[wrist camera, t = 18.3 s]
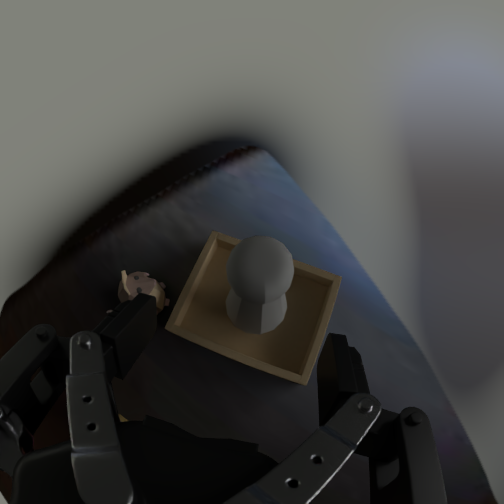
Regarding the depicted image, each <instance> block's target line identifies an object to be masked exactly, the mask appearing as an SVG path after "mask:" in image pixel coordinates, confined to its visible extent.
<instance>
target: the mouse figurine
mask: <svg viewBox="0 0 504 504" xmlns="http://www.w3.org/2000/svg"><path fill="white" fill-rule="evenodd" d="M121 274H122V280H121V281H120V283H119V288H118V297H119V299H120V301H121V303H122V302H124V301H127V300H131V301H132V300H133V299H134V298H135V297H136V296H137V295H138V294H139V293H145V294H148V295H152V296H155V297H156V305H157V315H158V313H160V312H161V311H162V310H163V308H164V306H169V301H170V299H167V298H166V296H165V291H164V289H165V288H166V286H165V285H164V283H163V282H161V283H159V282H157V281H156V280H155V279H151V278H148V277H147V276H148V275H149V274H148V273H145V272H135V273H132V274H129V275H128V276H127V275H126V272H125V270H123V271H121ZM109 312H112V310H108V311H107V312H106V313H109Z"/></svg>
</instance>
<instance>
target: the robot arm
mask: <svg viewBox="0 0 504 504" xmlns="http://www.w3.org/2000/svg"><path fill="white" fill-rule="evenodd" d="M156 328H157V305H156V297H155V296H152V295H148V294H145V293H139V294H138V295H137V296H136V297H135V298H134V299H133V300H132V301H131V300H127V301H124V302H122V303H120V304H119V305H118V306H117V307H116V308H115V309H114V310H113V311H112V312H111V313H110V314H109V315H108V316H106V317H105V318H104V319H103V320H102V321H101V322H100V323H99V324H98V325H97V326H96V327H95V328H94V329H93V330H92V331H81V332H78V333H76V334H74V335H73V336H72V338H67V337H61V336H57V334H56V330H55V328H54V327H53V326H51V325H49V324H40V325H37V326H35V327H33V328H32V329H31V330H30V331H29V332H28V333H26V334H25V335H24V336H23V337H22V338H21V339H20V340H19V341H18V342H17V343H16V344H15V345H14V346H13V347H12V348H11V349H10V350H9V351H8V352H7V353H6V354H5V355H4V356H3V357H2V358H1V359H0V470H2V471H5V472H6V473H7V474H9V475H10V476H11V477H12V495H11V500H10V504H312V503H311V502H310V501H311V500H312V499H313V498H314V497H315V496H316V495H317V494H318V493H319V492H320V491H321V490H322V489H323V488H324V487H325V486H326V484H327V483H328V482H329V481H330V480H331V479H332V478H333V477H334V475H335V474H336V473H337V472H338V471H339V470H340V468H341V467H342V466H343V465H344V464H345V462H346V461H347V460H348V459H349V458H350V456H351V455H352V454H353V453H356V454H359V455H363V456H367V457H369V471H370V504H447V499H446V493H445V487H444V481H443V476H442V471H441V466H440V462H439V457H438V453H437V449H436V445H435V441H434V437H433V433H432V429H431V426H430V422H429V419H428V417H427V415H426V414H425V413H424V412H423V411H422V410H420V409H418V408H415V407H408V408H405V409H403V410H402V412H401V413H400V414H398V413H394V412H391V411H387V410H384V409H382V408H381V404H380V402H379V401H378V400H377V399H376V398H375V397H374V396H372V395H370V391H369V387H368V383H367V379H366V375H365V371H364V367H363V365H362V359H361V355H360V354H359V353H358V351H357V350H356V349H355V348H354V347H349V346H348V342H347V338H346V335H341V334H334V333H329V334H328V336H327V338H326V341H325V344H324V346H323V349H322V352H321V354H320V357H319V360H318V364H317V383H318V402H319V426H320V427H319V428H318V429H317V430H316V431H315V432H314V433H313V434H312V435H310V436H309V437H308V438H307V439H306V440H305V441H304V442H303V443H302V444H301V445H300V446H299V447H298V448H297V449H295V450H294V451H293V452H292V453H291V454H290V455H289V456H288V457H286V458H285V459H284V460H283V461H282V462H281V463H277V462H276V461H275V460H273V459H272V458H270V457H269V456H267V455H265V454H263V453H260V452H258V446H259V444H255V443H249V442H244V441H238V440H233V439H215V438H199V437H196V436H194V435H192V434H190V433H188V432H186V431H185V430H183V429H181V428H179V427H177V426H176V425H174V424H172V423H169V422H166V421H163V420H160V419H157V418H154V417H151V416H148V415H146V416H145V418H144V420H143V421H124V422H121V421H120V418H119V415H118V411H117V406H116V402H115V397H114V393H113V388H112V383H111V380H112V379H113V377H114V376H115V377H117V378H120V379H122V380H123V379H124V377H125V376H126V374H127V373H128V371H129V370H130V369H131V367H132V366H133V364H134V363H135V361H136V360H137V358H138V357H139V356H140V354H141V353H142V351H143V350H144V349H145V347H146V346H147V344H148V343H149V341H150V340H151V339H152V337H153V336H154V334H155V332H156ZM39 367H41V369H42V370H41V371H40V372H39V373H38V375H37V376H36V377H35V378H34V379H33V381H32V382H31V383H30V379H31V376H32V375H33V374H34V372H35V371H36V370H37V369H38V368H39ZM65 388H66V393H67V408H68V419H69V428H70V436H71V440H68V441H65V442H62V443H59V444H55V445H52V446H49V447H45V448H42V449H38V450H35V451H34V449H33V444H34V439H33V434H34V433H35V431H36V430H37V428H38V427H39V425H40V424H41V422H42V421H43V419H44V418H45V416H46V415H47V413H48V412H49V410H50V409H51V408H52V406H53V405H54V403H55V402H56V400H57V399H58V398H59V396H60V395H61V393H62V392H63V391H64V389H65Z"/></svg>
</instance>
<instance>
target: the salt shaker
mask: <svg viewBox="0 0 504 504" xmlns="http://www.w3.org/2000/svg"><path fill="white" fill-rule="evenodd" d="M226 271H227V280H228V282H229V284H230V286H231V289H230V291H229V294H228V296H227V299H226V309H227V315H228V317H229V318H230V320H231V321H232V323H233V325H234V326H235V327H237V328H239V329H240V330H242V331H244V332H245V333H250V334H259V335H261V334H264V333H266V332H269V331H272V330H274V329H275V328H276V327H277V326H278V325H279V324H280V323H281V322H282V321H283V319H284V316H285V313H286V309H287V302H286V296H285V292H286V291H287V290H288V289H289V287H290V286H291V282H292V279H293V275H294V266H293V260H292V255H291V253H290V252H289V251H288V250H287V248H286V247H285V246H284V244H283V243H281V242H279V241H277V240H275V239H274V238H272V237H267V236H253V237H250V238H247V239H243V240H242V241H241V242H240V243H238V244H237V245H236V246H235V247H234V248H233V249H232V251H231V253H230V256H229V258H228V261H227V264H226Z"/></svg>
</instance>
